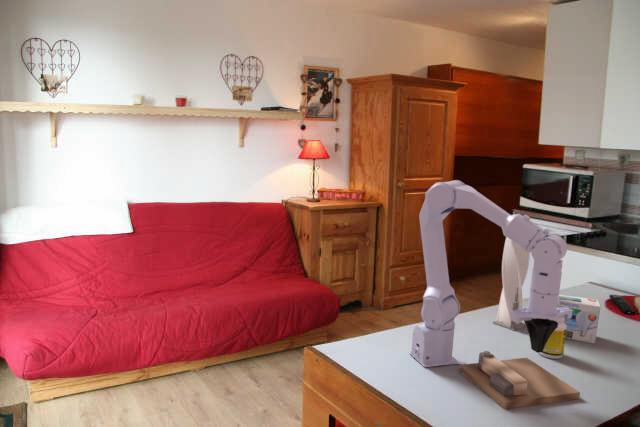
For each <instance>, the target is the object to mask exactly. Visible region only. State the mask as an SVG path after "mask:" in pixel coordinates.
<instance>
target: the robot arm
mask: <svg viewBox="0 0 640 427" xmlns="http://www.w3.org/2000/svg"><path fill="white" fill-rule="evenodd" d="M456 209H469V210H472V211H474V212H475V213H477V214H479V215H481V216H482V217H484V218H485V219H487V220H489V221H490V222H492V223H494V224H496V225H497V226H499V227H500V228H501V230H502V233H503V236H504V237H505V238H506V237H507V238H509V239H510V240H512V241H513V242H515V243H516V244H518V245H519V246H521V247H522V248H524V249H525V250H527V251H528V252H530V255H531V256H532V259H533V260H534V261H533V267H532V269H531V270H532V273H531V278H530V279H531V280H530V285H529V286H530V288H529V293H528V294H529V295H528V304H527V306H525V307H522V309H518V310H514V311H511V313H510V320H512V321H514V322H515V323H518V322H519V321H522V322H523V323H524V324H526V326H525V327H526V328H527V331H528V336H529V341H530V349H531V350H532V351H534V352H535V353H538V354H539V352H543V349H544V347H545V345H546V343H547V341H548V339H549V337H550V336H551V334H552V333H553V332H554V330H555V329H556V328H557V327H558V323H557V322H556V321H554V320H558V318H565V317H566V318H568V319H569V318H571V317H572V310H571V309H569V308H567V307H557V305H558V297H559V294H560V291H561V290H560V287H561V282H562V273H563V272H562V268H563V258H564V257H565V255H566V254H567V253H568V245H567V242H566V240H565V239H564V238H563V237H561V234H558V233H552V232H551V233H550V229H548V228H542V227H541V226H539V225H537V224H536V223H534V222H533V221H531V220H530V219H531V217H530V216H529V215H527V214H524V215H522V214H521V213H517V214H510V213H509V212H507V211H506V210H504V209H503V208H502V207H500V206H498V205H497V204H496V203H494V202H493V201H492V200H490V199H489V198H487V197H486V196H485V195H483V194H481V193H480V192H478V191H477V190H476V189H475V188H474V187H472V186H470V185H468V184H465V183H464V182H462V181H461V180H458V179H454V180H450V181H438V182H435V183H434V184H433V185H431V187H429V188H428V190H427V191H425V193H424V202H423V204H422V207H421V209H420V212H419V215H418V218H419V225H420V226H419V227H420V236H421V244H422V253H423V262H424V270H425V279H426V290H425V291H424V294H423V295H422V303H423V304H422V308H421V311H420V316H421V319H422V321H423V323H422V324H419V325H416V326H415V327H414V328H413V331H412V340H411V351H409V354H410V355H411V356H412V357H413V358H415V360H416V361H417V362H418V363H419V364H420V365H422V366H423V367H424V368H431V367H440V366H450V365H459V363H460V362H459V360H458V359H456V357H454V356H453V349H454V338H455V337H454V336H455V329H456V328H455V327H456V322H455V318H456V317H458V316H459V314H460V312H461V304H460V302H459V300H458V298H457V297H456V293H455V292H456V291H455V289H454V288H453V286H451V283H450V277H449V268H448V259H447V258H448V256H447V251H446V241H445V232H444V224H443V222H444V220H445V219H446V217H448V215H449V214H451V212H452V211H453V210H456Z"/></svg>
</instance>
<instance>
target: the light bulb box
mask: <svg viewBox="0 0 640 427" xmlns="http://www.w3.org/2000/svg"><path fill="white" fill-rule="evenodd" d="M557 307H567V308H569V309H571V310H572V317H571V318H569V319H568V318H566V317H565V320H564V321H563V322H564V323H565V324H566V326H567V330H566V337H565V339H569V340H573V341H580V342H583V343H584V342H585V343H590V344H596V340H597V339H596V338H597V332H598V326H599V319H600V314H601V308H602V307H601V305H600V302H599V300H598V299H594V298H593V299H592V298H587V297H581V296H573V295H568V294H567V295H566V294H560V293H559V297H558V305H557Z"/></svg>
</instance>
